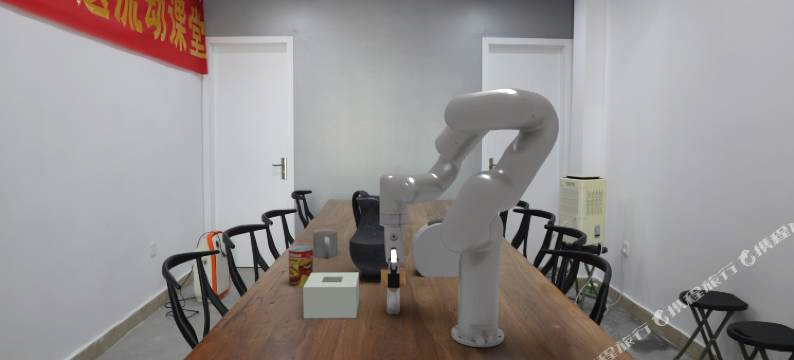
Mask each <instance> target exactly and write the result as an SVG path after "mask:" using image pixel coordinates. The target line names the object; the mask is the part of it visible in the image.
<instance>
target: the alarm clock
mask: <svg viewBox="0 0 794 360" xmlns="http://www.w3.org/2000/svg"><path fill="white" fill-rule="evenodd" d="M443 219H444V218H435V219H430V220H429V221H427V223H425V224H424V225H423V226H421V227H420V228H419V229H418V230H417V232H416V233H415V234H414V236H413V238H412V241H411V247H410V251H411V253H410V254H411V258H412V262H413V264H414V267H415V269H416V270H417V272H419V274H420V275H421V276H422V277H423V278H450V277H451V278H454V277H455V278H458V277H459V259H460V253H454V252H452V251H450V250H448V249H447V248H446V247H445V246H444V244H443V242H442V240H441V236H440V228H441V224H442V221H443Z"/></svg>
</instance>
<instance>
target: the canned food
mask: <svg viewBox="0 0 794 360" xmlns="http://www.w3.org/2000/svg"><path fill="white" fill-rule="evenodd" d="M311 273H314V255H313V246H311V245H296V246H291V247H289V248H288V281H289V282H288V286H290V287H291V288H303V287H304V285H305V283H306V281H307V280H308V278H309V276H310V274H311Z"/></svg>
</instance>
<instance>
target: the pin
mask: <svg viewBox="0 0 794 360" xmlns="http://www.w3.org/2000/svg"><path fill="white" fill-rule="evenodd" d="M388 273H389V267H385V268H382V269H381V281H380V285H381V286H382V287H384V288H386V313H387V314H388V313H389V314H388V315H391V314H396V315H398V314H397V313H399V312H400V311H401V309H400V305H401V303H400V300H401V299H400V294H401V290H400V289H401V288H402V287H405V286H406V285H407V283H406V280H407V279H406V278H407V277H406V276H407V270H406V268H404V267H403V266H402V267H401V266H399V273H400V287H399V288H388ZM399 314H400V313H399Z"/></svg>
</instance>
